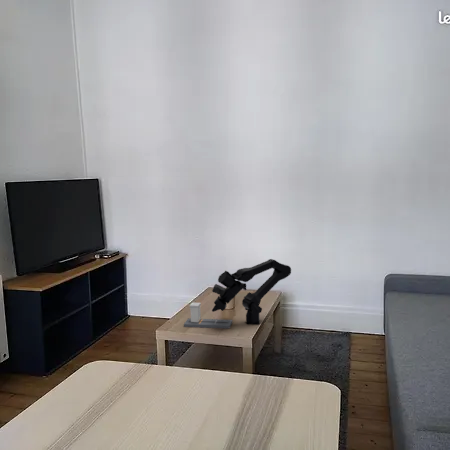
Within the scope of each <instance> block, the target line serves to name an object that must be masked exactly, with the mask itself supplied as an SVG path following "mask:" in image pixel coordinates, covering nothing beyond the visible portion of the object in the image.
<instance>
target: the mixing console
mask: <svg viewBox="0 0 450 450" xmlns="http://www.w3.org/2000/svg"><path fill="white" fill-rule="evenodd" d="M232 324H233V319H222V318H219V319H218V318H201V319H200V321H199V322H191V317H189V318H187V319H186V320H185V322H184V324H183V328H203V329H204V328H205V329H231V326H232Z"/></svg>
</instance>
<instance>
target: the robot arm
mask: <svg viewBox="0 0 450 450" xmlns="http://www.w3.org/2000/svg"><path fill="white" fill-rule="evenodd" d="M271 269H273V272H272V274H271V275H270V276H269V278H268V279H267V280H265V282H264V283H262V284H261V285H260V286H259V287H258V288H257V289H256V290H255V291H254V292H247V294H246V295H245V296H243V298H242V301H241V304H242V306H243V308H244V310H245V311H246V313H245V322H246V325H260V322H261V319H260V316H261V315H260V314H261V313H262V311H263V308H262V307H261V306H260V305H261V304H260V303H261V301H262V299H263V298H264V297H265V296H266V295H267V294H268V293H269V292H270V291H271V289H273V288H274V287H275V285H277V284H278V283H279V282H280V281H282V280H285V279H286V278H288V277H289V276H291V274H292V268H291V266H290V265H288V264H284V263H281V262H278V261H277V260H276V259H272V258H269V259H267V260H265V261H263V262H261V263H258V264H256V265H254V266H253V265H252V266H251V267H243V268H239V269H237V270H236V272H234V273H230V272H229V271H227V270H224V272H222V273H220V275H219V276H218V278H217V282H218V283H220V284H221V285H223V286H221V285H220V284H217V283H215V284H214V286H213V288H212V289H211V292H212V293H213V294H217V295H218V296H217V298H216V299H215V300H214V301H213V303H214V306H213V308H212V310H211V312H216V311H219V310H221V311H222V312H223V311H224V310H226V308H227V304H229V303H231V301H232V300H234V299H235V297H236V296H237V294H240V292H241V291H242V290H244V291H247V283H248V282H249V281H251V280H252V279H253V278H254V277H255V276H257V275H259V274H262V273H264V272H266V271H269V270H271Z"/></svg>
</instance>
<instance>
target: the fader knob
mask: <svg viewBox="0 0 450 450" xmlns="http://www.w3.org/2000/svg"><path fill="white" fill-rule="evenodd" d="M201 305H202V304H201V302H191V304H189V310H190V318H191V322H199V321H200V319H202V318H201V317H202V316H201Z"/></svg>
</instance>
